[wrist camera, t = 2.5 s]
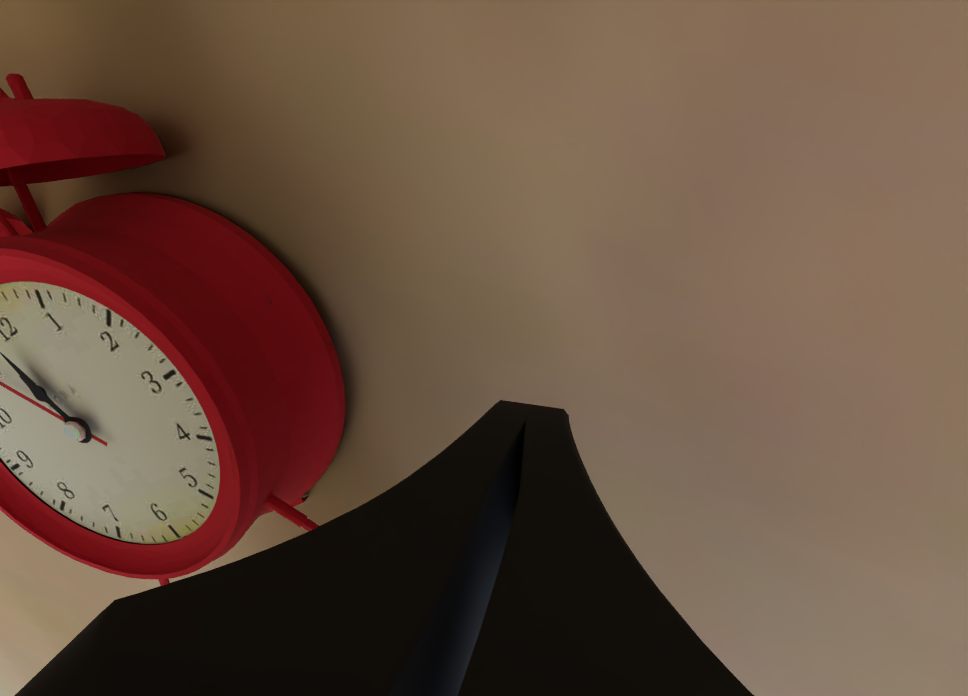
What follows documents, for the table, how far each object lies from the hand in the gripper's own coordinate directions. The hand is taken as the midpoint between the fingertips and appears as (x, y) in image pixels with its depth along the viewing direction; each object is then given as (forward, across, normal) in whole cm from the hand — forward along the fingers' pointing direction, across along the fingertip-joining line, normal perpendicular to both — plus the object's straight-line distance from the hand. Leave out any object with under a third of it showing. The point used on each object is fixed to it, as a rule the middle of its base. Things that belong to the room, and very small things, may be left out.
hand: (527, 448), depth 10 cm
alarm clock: (+4, +12, 0) cm, 12 cm away
